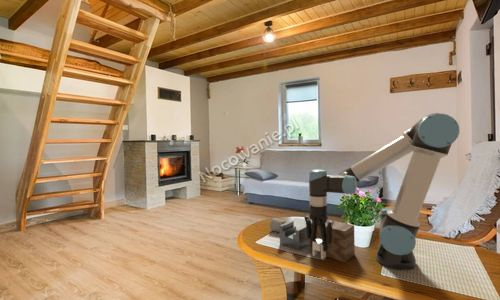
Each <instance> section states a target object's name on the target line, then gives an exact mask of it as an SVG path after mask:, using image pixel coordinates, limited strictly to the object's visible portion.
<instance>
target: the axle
mask: <svg viewBox="0 0 500 300" xmlns="http://www.w3.org/2000/svg"><path fill="white" fill-rule="evenodd" d="M312 243H313V249H314V250H317V251H321V244H322V237H319V238H317V239H316V240H314V241H312ZM330 244H331V243H329V244H327V246H329V245H330Z"/></svg>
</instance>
